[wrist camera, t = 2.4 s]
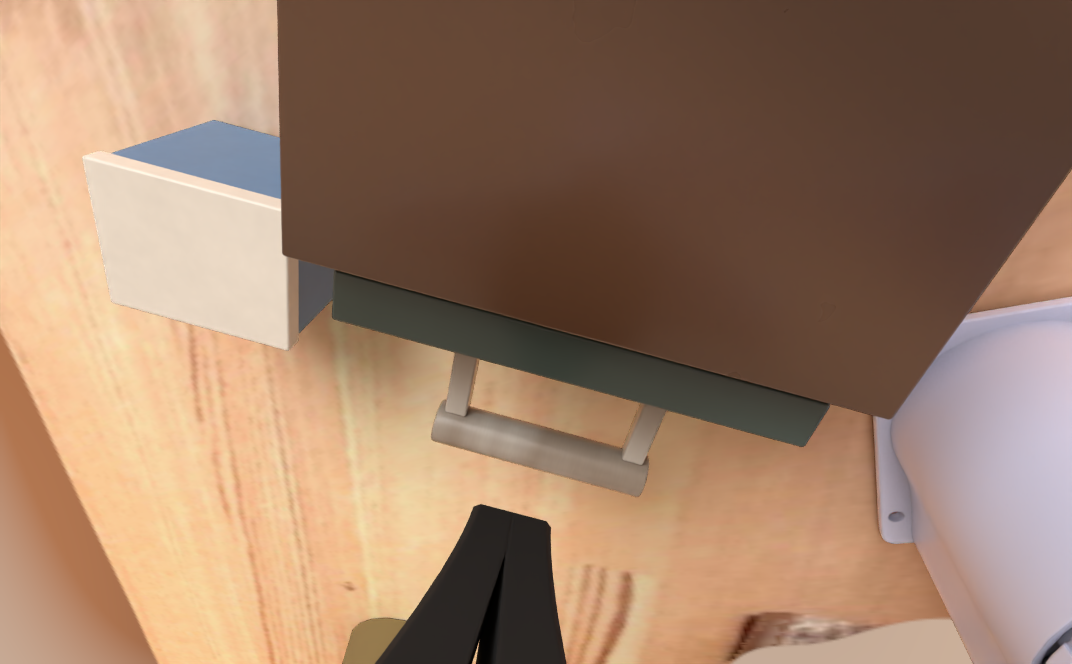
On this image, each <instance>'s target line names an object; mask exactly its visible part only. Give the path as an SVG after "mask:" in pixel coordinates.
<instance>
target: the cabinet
mask: <svg viewBox="0 0 1072 664" xmlns="http://www.w3.org/2000/svg"><path fill="white" fill-rule="evenodd" d="M277 15H278V68H279V122H280V175H281V229H282V254H283V255H284V256H286V257H290V258H293V259H297V260H301V261H305V262H308V263H312V264H316V265H319V266H323V267H327V268H330V269H334V270H338V271H341V272H345V273H349V274H352V275H356V276H360V277H364V278H367V279H371V280H375V281H378V282H382V283H386V284H389V285H393V286H397V287H400V288H404V289H408V290H412V291H415V292H419V293H423V294H426V295H430V296H434V297H437V298H441V299H445V300H448V301H452V302H456V303H459V304H463V305H467V306H471V307H474V308H478V309H482V310H485V311H489V312H493V313H496V314H500V315H504V316H507V317H511V318H515V319H519V320H522V321H526V322H530V323H533V324H537V325H541V326H544V327H548V328H552V329H555V330H559V331H563V332H566V333H570V334H574V335H578V336H581V337H585V338H589V339H592V340H596V341H600V342H603V343H607V344H611V345H614V346H618V347H622V348H626V349H629V350H633V351H637V352H640V353H644V354H648V355H651V356H655V357H659V358H662V359H666V360H670V361H674V362H677V363H681V364H685V365H688V366H692V367H696V368H699V369H703V370H707V371H710V372H714V373H718V374H721V375H725V376H729V377H733V378H736V379H740V380H744V381H747V382H751V383H755V384H758V385H762V386H766V387H769V388H773V389H777V390H781V391H784V392H788V393H792V394H795V395H799V396H803V397H806V398H810V399H814V400H817V401H821V402H825V403H828V404H832V405H836V406H840V407H843V408H847V409H851V410H854V411H858V412H862V413H865V414H869V415H873V416H876V417H880V418H884V419H888V420H891V419H892V418H893V417H894V416H895V414H896V413H897V412H898V410H899V409H900V408H901V406H902V405H903V403H904V402H905V401H906V399H907V398H908V396H909V395H910V394H911V392H912V391H913V389H914V388H915V387H916V385H917V384H918V382H919V381H920V380H921V378H922V377H923V376H924V374H925V373H926V371H927V370H928V369H929V367H930V366H931V364H932V363H933V362H934V360H935V359H936V357H937V356H938V355H939V353H940V352H941V351H942V349H943V348H944V346H945V345H946V344H947V342H948V341H949V339H950V338H951V337H952V335H953V334H954V332H955V331H956V330H957V328H958V327H959V326H960V324H961V323H962V321H963V320H964V319H965V317H966V316H967V314H968V313H969V312H970V310H971V309H972V307H973V306H974V305H975V303H976V302H977V300H978V299H979V298H980V296H981V295H982V294H983V292H984V291H985V289H986V288H987V287H988V285H989V284H990V282H991V281H992V280H993V278H994V277H995V275H996V274H997V273H998V271H999V270H1000V269H1001V267H1002V266H1003V264H1004V263H1005V262H1006V260H1007V259H1008V257H1009V256H1010V255H1011V253H1012V252H1013V250H1014V249H1015V248H1016V246H1017V245H1018V243H1019V242H1020V241H1021V239H1022V238H1023V237H1024V235H1025V234H1026V232H1027V231H1028V230H1029V228H1030V227H1031V225H1032V224H1033V223H1034V221H1035V220H1036V218H1037V217H1038V216H1039V214H1040V213H1041V212H1042V210H1043V209H1044V207H1045V206H1046V205H1047V203H1048V202H1049V200H1050V199H1051V198H1052V196H1053V195H1054V193H1055V192H1056V191H1057V189H1058V188H1059V187H1060V185H1061V184H1062V182H1063V181H1064V180H1065V178H1066V177H1067V175H1068V174H1069V173H1070V171H1071V170H1072V0H277Z"/></svg>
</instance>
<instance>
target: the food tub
mask: <svg viewBox="0 0 1072 664" xmlns="http://www.w3.org/2000/svg"><path fill="white" fill-rule="evenodd" d="M82 159H83V164H84V169H85V174H86V179H87V184H88V189H89V194H90V199H91V204H92V209H93V214H94V219H95V224H96V229H97V234H98V238H99V243H100V248H101V253H102V258H103V263H104V268H105V273H106V278H107V283H108V288H109V293H110V298H111V302H112V303H115V304H118V305H122V306H126V307H129V308H133V309H137V310H140V311H144V312H148V313H151V314H155V315H159V316H162V317H166V318H169V319H173V320H177V321H180V322H184V323H188V324H191V325H195V326H199V327H202V328H206V329H210V330H213V331H217V332H221V333H224V334H228V335H232V336H235V337H239V338H242V339H246V340H250V341H253V342H257V343H261V344H264V345H268V346H272V347H275V348H279V349H283V350H286V351H289V350H290V349H291V348H292V347H293V346H294V345H295V344H296V343H297V342H298V340H299V333H300V332H301V331H302V330H303V329H304V328H305V327H306V326H307V325H308V324H309V323H310V322H311V321H312V320H313V319H314V318H315V317H316V316H317V315H318V314H319V313H320V311H321V310H322V309H323V308H324V307H325V306H326V305H327V304H328V303H329V302H330V301H331V300H332V299H333V276H334V269H330V268H327V267H323V266H319V265H316V264H312V263H308V262H305V261H301V260H297V259H293V258H290V257H286V256H284V255H283V254H282V229H281V175H280V138H279V137H275V136H272V135H268V134H264V133H260V132H257V131H253V130H249V129H246V128H242V127H238V126H234V125H231V124H227V123H223V122H219V121H216V120H212V121H209V122H206V123H203V124H200V125H197V126H194V127H191V128H188V129H184V130H181V131H178V132H175V133H172V134H169V135H166V136H163V137H160V138H157V139H153V140H150V141H147V142H144V143H141V144H138V145H135V146H132V147H129V148H126V149H122V150H119V151H116V152H113V153H107V152H103V151H97V152H94V153H91V154H88V155H85V156H83V158H82Z"/></svg>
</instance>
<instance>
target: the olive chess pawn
mask: <svg viewBox="0 0 1072 664" xmlns="http://www.w3.org/2000/svg"><path fill="white" fill-rule="evenodd" d="M405 623H406V621H404V620H397V619H390V618H380V619H370V620H368V621H365V622H362V623H360V624H358V625H357V626H356V627H355V628H354V629H353V630H352V633H351V636H350V640H349V643H348V646H347V649H346V653H345V656H344V659H343V663H342V664H375V662H376V661H377V660H378V659H379V657H380V656H381V655H382V654H383V652H384V651H385V649H386V648H387V647H388V645H389V644H390V643H391V641H392V640H393V639H394V637H395V636H396V635H397V633H398V632H399V631H400V629H401V628H402V627H403V625H404V624H405Z"/></svg>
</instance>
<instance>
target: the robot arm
mask: <svg viewBox="0 0 1072 664" xmlns="http://www.w3.org/2000/svg"><path fill="white" fill-rule="evenodd" d="M873 425H874V444H875V464H876V483H877V503H878V522H879V531H880V534H881V536H882V538H883V540H885V541H886V542H889V543H892V544H900V543H915V545H916V547H917V549H918V551H919V553H920V555H921V557H922V559H923V561H924V564H925V566H926V568H927V570H928V572H929V574H930V576H931V578H932V580H933V582H934V584H935V586H936V588H937V590H938V592H939V594H940V597H941V599H942V601H943V603H944V605H945V607H946V609H947V611H948V613H949V615H950V617H951V619H952V621H953V623H954V625H955V627H956V629H957V632H958V634H959V635H960V638H961V640H962V642H963V644H964V646H965V648H966V650H967V652H968V654H969V656H970V658H971V660H972V662H973V664H1072V296H1071V297H1065V298H1059V299H1053V300H1047V301H1041V302H1035V303H1029V304H1023V305H1017V306H1012V307H1006V308H1000V309H994V310H988V311H982V312H976V313H970V314H967V316H966V317H965V319H964V320H963V321H962V323H961V324H960V326H959V327H958V328H957V330H956V331H955V332H954V334H953V335H952V337H951V338H950V339H949V341H948V342H947V344H946V345H945V346H944V348H943V349H942V351H941V352H940V353H939V355H938V356H937V357H936V359H935V360H934V362H933V363H932V364H931V366H930V367H929V369H928V370H927V371H926V373H925V374H924V376H923V377H922V378H921V380H920V381H919V382H918V384H917V385H916V387H915V388H914V389H913V391H912V392H911V394H910V395H909V396H908V398H907V399H906V401H905V402H904V403H903V405H902V406H901V408H900V409H899V410H898V412H897V413H896V414H895V416H894V417H893V418H892V419H891V420H888V419H884V418H880V417H876V416H873ZM893 512H897V513H893ZM891 513H893V514H891ZM478 643H479V647H478V654H477V660H476V664H566V659H565V653H564V648H563V642H562V636H561V631H560V625H559V619H558V613H557V606H556V599H555V590H554V582H553V572H552V560H551V527H550V526H549V524H548V523H547V521H543V520H539V519H535V518H532V517H528V516H524V515H520V514H516V513H513V512H509V511H505V510H501V509H497V508H493V507H490V506H486V505H482V504H480V505H477V506H475V507H473V510H472V512H471V515H470V518H469V520H468V522H467V524H466V526H465V528H464V531H463V533H462V535H461V537H460V539H459V540H458V542H457V544H456V546H455V548H454V550H453V551H452V553H451V555H450V556H449V558H448V560H447V561H446V563H445V565H444V566H443V568H442V570H441V571H440V573H439V574H438V576H437V577H436V579H435V580H434V582H433V583H432V585H431V586H430V588H429V589H428V591H427V593H426V594H425V596H424V597H423V599H422V600H421V602H420V603H419V605H418V606H417V608H416V609H415V610H414V612H413V613H412V615H411V616H410V617H409V619H408V620H407V621H406V623H405V624H404V625H403V627H402V628H401V629H400V631H399V632H398V633H397V635H396V636H395V637H394V639H393V640H392V641H391V643H390V644H389V645H388V647H387V648H386V649H385V651H384V652H383V654H382V655H381V656H380V657H379V659H378V660H377V661H376V662H375V664H472V661H473V658H474V655H475V652H476V649H477V646H478Z"/></svg>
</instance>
